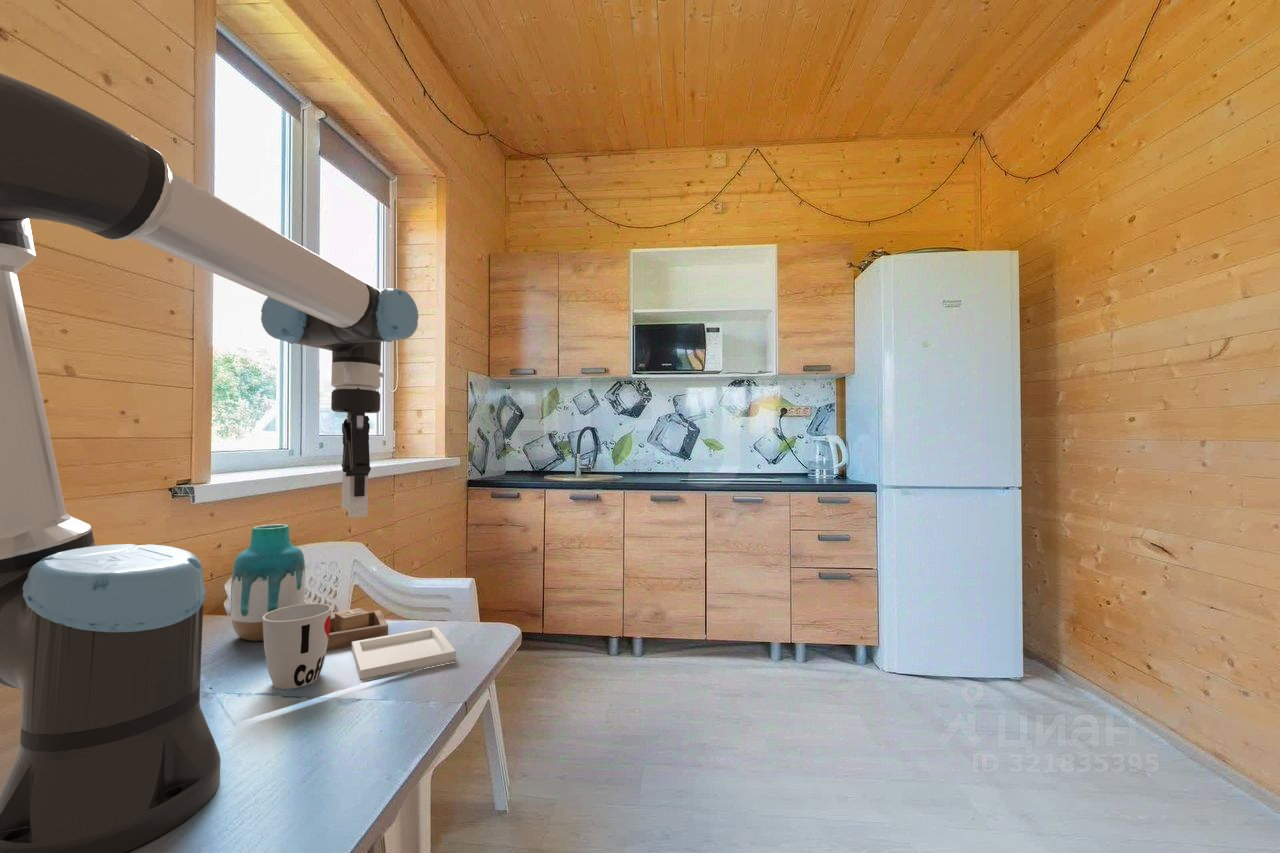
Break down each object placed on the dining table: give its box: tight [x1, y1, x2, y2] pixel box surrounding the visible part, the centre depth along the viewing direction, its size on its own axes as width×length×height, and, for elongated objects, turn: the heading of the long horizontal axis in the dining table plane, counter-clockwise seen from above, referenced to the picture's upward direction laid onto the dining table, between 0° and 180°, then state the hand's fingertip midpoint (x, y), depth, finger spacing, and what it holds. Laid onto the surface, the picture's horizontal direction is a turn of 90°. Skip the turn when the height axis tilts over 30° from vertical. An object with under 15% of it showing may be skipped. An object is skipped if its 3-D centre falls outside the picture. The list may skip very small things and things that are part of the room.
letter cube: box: [334, 607, 369, 632], centre depth 91 cm, size 4×4×4 cm
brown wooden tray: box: [326, 609, 389, 652], centre depth 91 cm, size 10×10×3 cm
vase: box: [230, 523, 306, 642], centre depth 93 cm, size 11×11×19 cm
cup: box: [263, 603, 332, 690], centre depth 75 cm, size 8×8×10 cm
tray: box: [351, 626, 457, 684], centre depth 84 cm, size 13×13×2 cm
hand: (353, 512), depth 92 cm, fingers open, 13 cm apart
